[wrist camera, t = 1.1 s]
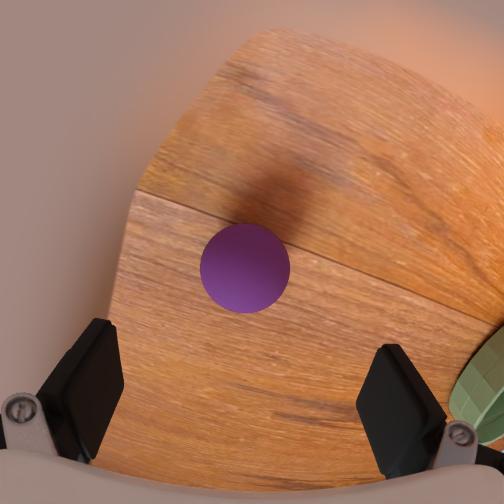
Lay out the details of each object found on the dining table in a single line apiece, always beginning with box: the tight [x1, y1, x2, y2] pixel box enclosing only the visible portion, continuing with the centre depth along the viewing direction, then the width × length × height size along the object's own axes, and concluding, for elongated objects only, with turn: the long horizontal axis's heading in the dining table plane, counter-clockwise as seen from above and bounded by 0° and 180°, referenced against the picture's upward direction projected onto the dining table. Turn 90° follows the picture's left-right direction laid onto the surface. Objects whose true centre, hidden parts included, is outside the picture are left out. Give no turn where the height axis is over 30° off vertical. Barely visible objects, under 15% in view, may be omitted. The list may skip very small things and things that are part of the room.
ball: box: [200, 223, 290, 313], centre depth 17 cm, size 5×5×5 cm
